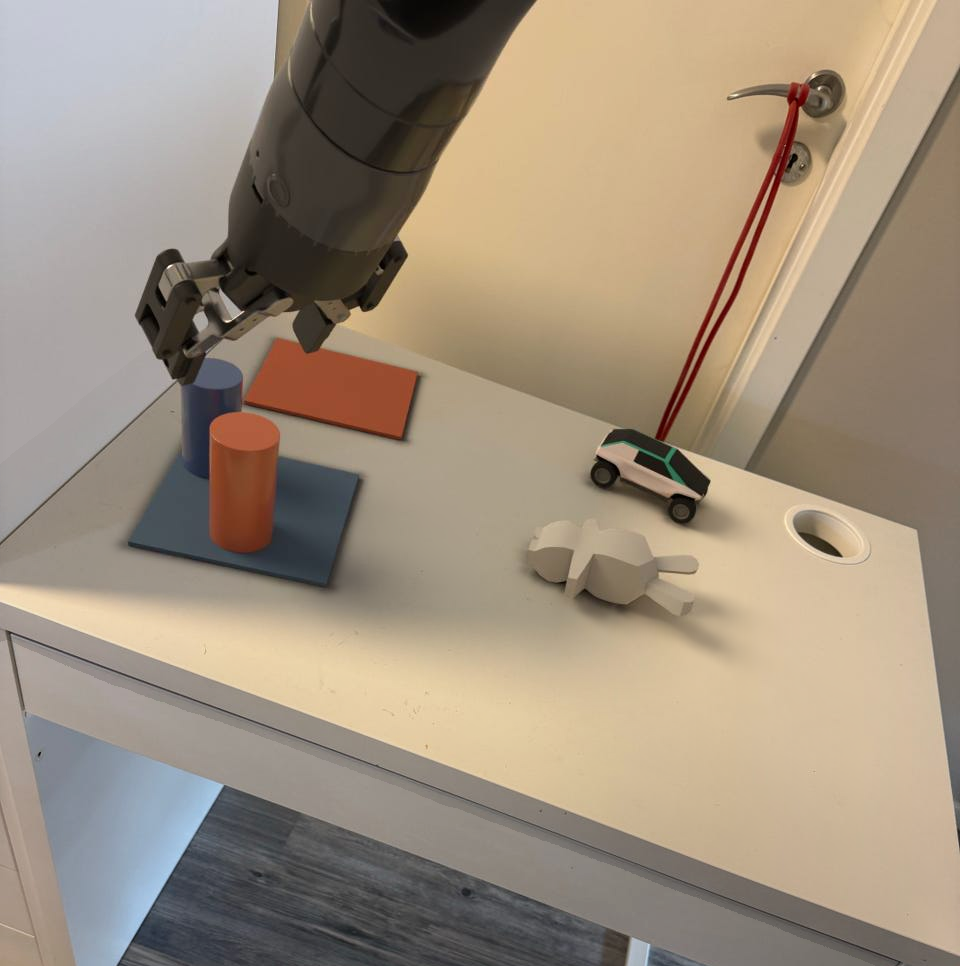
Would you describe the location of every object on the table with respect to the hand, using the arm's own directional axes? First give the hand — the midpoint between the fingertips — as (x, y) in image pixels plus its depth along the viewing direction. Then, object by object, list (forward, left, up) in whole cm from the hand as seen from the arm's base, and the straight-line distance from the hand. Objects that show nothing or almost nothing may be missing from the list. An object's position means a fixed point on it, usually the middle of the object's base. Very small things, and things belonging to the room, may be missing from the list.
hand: (243, 354), depth 53 cm
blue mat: (-2, +12, -21) cm, 24 cm away
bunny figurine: (+30, +12, -21) cm, 39 cm away
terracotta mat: (+1, +35, -21) cm, 41 cm away
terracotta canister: (-2, +8, -21) cm, 22 cm away
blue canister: (-7, +17, -21) cm, 28 cm away
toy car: (+35, +29, -21) cm, 51 cm away
